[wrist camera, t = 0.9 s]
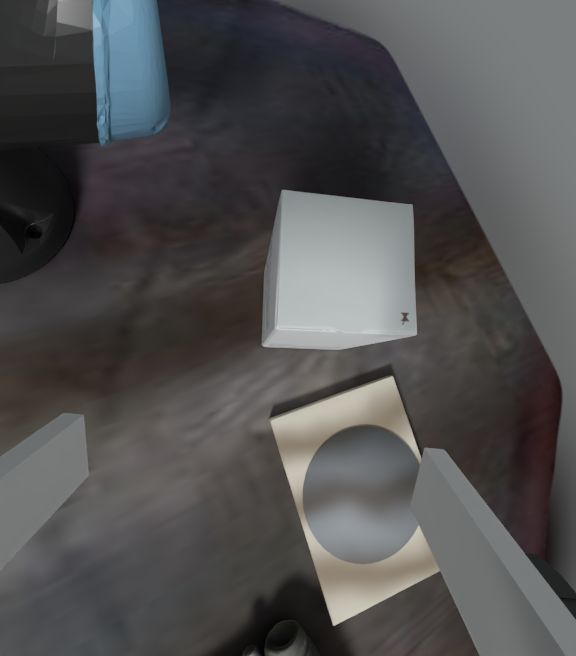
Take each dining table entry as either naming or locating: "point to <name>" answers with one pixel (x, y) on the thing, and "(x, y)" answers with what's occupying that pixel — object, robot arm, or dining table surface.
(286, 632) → the camcorder
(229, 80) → the dining table surface
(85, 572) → the dining table surface
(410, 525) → the board
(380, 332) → the supplement box
